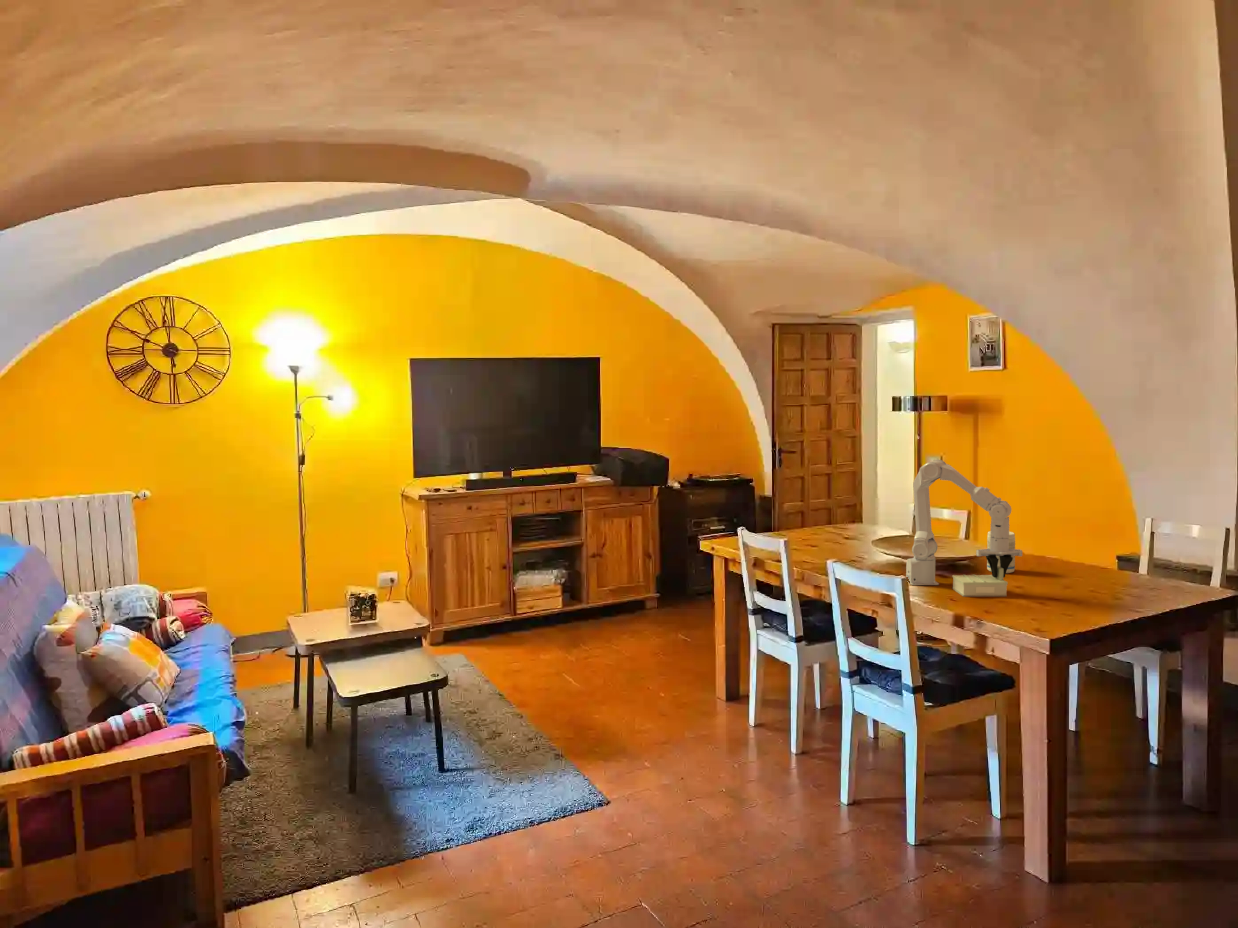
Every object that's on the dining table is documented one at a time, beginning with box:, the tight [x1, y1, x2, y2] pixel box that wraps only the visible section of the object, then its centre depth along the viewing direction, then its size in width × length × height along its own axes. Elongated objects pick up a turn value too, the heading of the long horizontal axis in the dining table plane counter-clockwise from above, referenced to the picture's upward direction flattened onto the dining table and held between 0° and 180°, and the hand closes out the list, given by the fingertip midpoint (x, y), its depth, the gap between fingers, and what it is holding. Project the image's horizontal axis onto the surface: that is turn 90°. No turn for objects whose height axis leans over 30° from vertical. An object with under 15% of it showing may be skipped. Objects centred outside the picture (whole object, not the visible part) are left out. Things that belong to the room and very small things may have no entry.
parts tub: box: [952, 578, 1008, 597], centre depth 280 cm, size 14×10×4 cm
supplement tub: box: [986, 530, 1016, 574], centre depth 310 cm, size 10×10×15 cm
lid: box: [952, 565, 1009, 586], centre depth 280 cm, size 14×10×5 cm
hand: (998, 576), depth 280 cm, fingers open, 2 cm apart
